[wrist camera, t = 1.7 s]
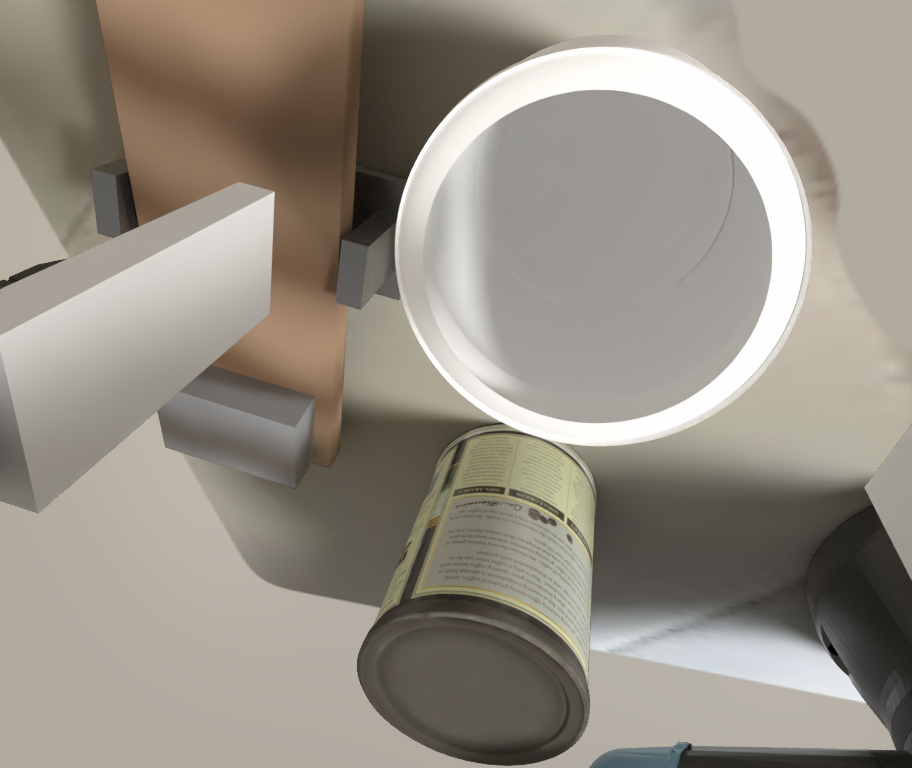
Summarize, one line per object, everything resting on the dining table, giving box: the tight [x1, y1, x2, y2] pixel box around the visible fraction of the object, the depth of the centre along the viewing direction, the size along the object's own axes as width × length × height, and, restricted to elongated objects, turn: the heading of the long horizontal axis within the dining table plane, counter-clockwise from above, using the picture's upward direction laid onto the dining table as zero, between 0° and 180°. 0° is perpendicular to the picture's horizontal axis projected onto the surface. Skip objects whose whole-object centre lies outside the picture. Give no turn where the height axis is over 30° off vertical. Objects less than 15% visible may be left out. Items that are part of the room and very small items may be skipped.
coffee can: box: [357, 424, 597, 766], centre depth 33 cm, size 10×10×14 cm
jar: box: [395, 35, 812, 446], centre depth 22 cm, size 11×10×15 cm
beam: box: [96, 0, 365, 489], centre depth 28 cm, size 28×10×4 cm, turn 168°
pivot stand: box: [91, 159, 408, 309], centre depth 30 cm, size 6×14×6 cm, turn 78°
